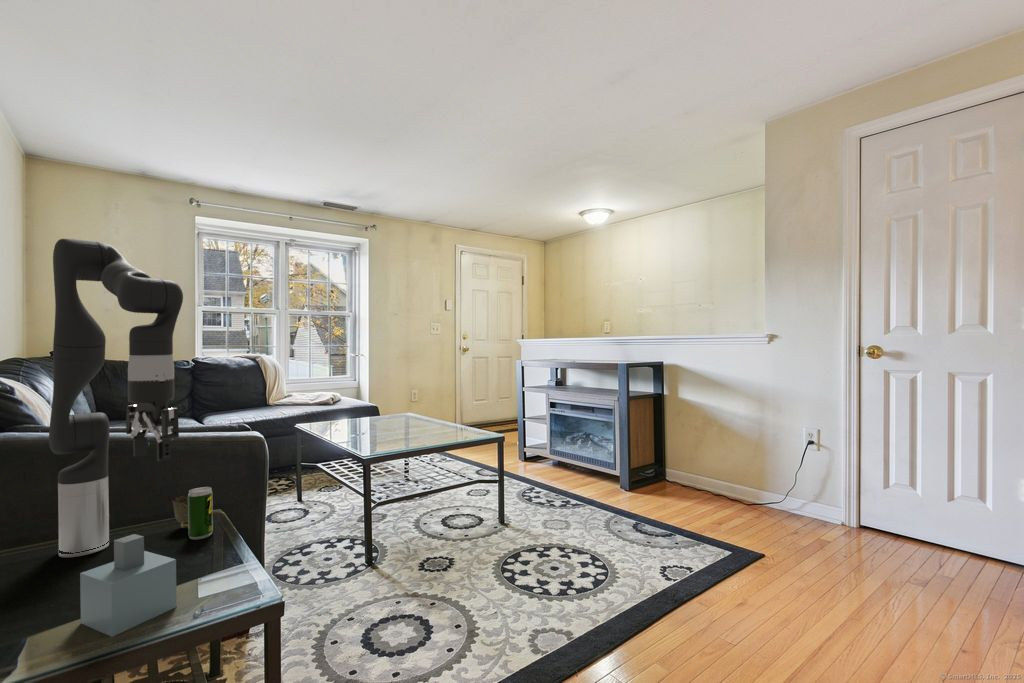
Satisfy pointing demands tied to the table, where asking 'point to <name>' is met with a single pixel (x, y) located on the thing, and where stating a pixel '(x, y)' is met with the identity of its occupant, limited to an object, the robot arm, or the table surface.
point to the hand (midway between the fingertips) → (151, 458)
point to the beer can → (200, 513)
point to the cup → (181, 510)
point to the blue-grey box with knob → (127, 588)
